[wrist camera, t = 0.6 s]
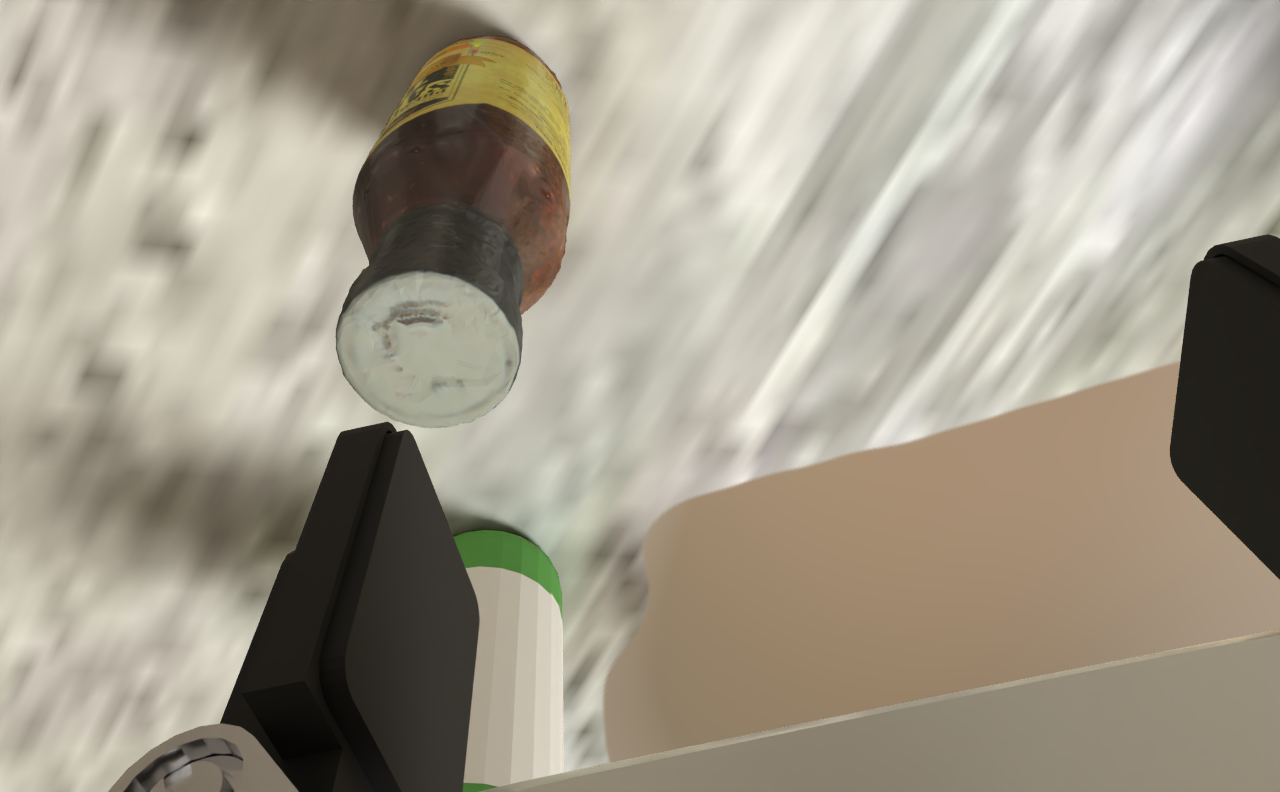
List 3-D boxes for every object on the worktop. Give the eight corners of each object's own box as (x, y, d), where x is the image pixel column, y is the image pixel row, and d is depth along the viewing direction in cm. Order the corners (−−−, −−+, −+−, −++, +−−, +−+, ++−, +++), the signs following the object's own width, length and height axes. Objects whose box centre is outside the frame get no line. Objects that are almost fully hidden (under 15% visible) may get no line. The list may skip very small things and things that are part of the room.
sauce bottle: (445, 0, 35) (336, 133, 17) (596, 75, 36) (630, 263, 19) (387, 156, 37) (243, 404, 20) (529, 219, 39) (508, 496, 22)
